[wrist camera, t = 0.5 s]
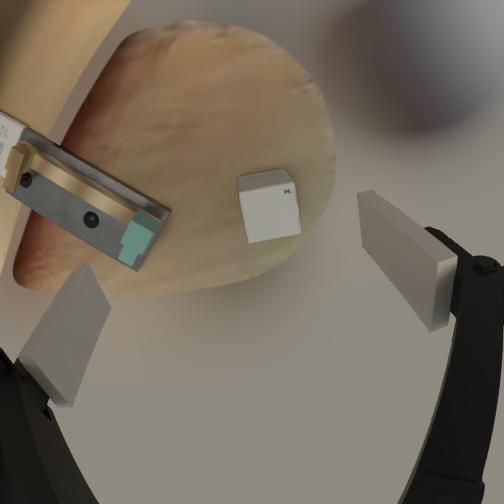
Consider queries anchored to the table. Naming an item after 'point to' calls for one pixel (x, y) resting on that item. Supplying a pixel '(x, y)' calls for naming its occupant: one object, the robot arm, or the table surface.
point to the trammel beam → (66, 181)
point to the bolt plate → (83, 202)
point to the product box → (269, 205)
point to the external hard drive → (8, 138)
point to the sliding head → (137, 237)
